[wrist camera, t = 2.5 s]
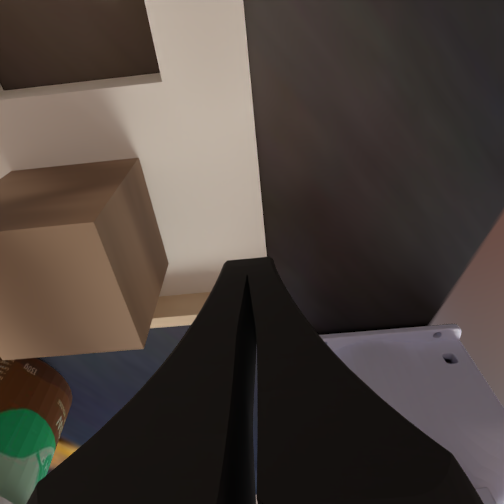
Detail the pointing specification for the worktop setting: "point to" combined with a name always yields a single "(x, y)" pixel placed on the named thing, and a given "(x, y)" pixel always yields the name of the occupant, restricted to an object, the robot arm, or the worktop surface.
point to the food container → (29, 424)
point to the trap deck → (164, 142)
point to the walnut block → (77, 260)
